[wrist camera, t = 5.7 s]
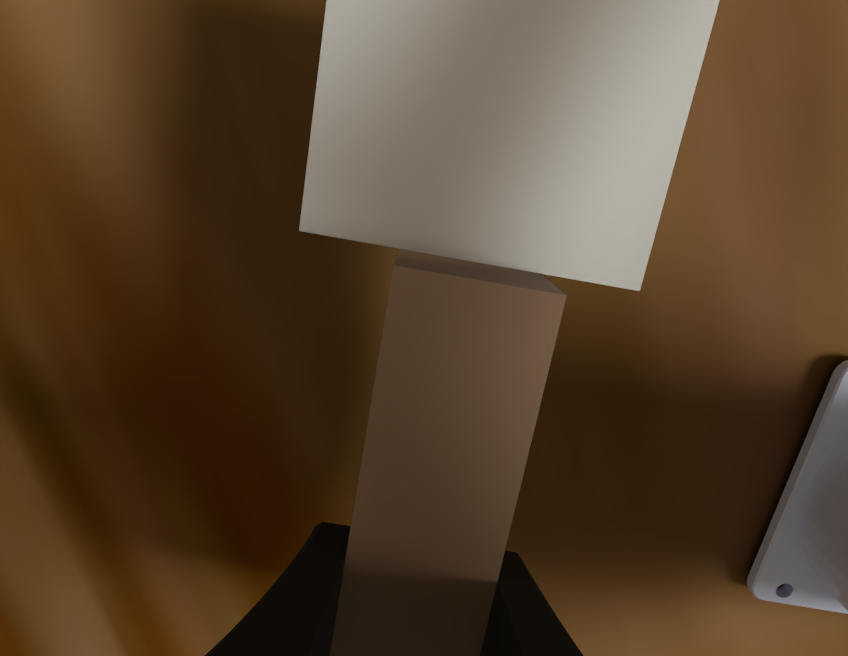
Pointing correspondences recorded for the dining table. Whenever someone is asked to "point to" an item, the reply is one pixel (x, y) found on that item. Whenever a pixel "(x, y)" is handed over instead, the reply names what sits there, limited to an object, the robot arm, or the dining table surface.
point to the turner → (480, 258)
